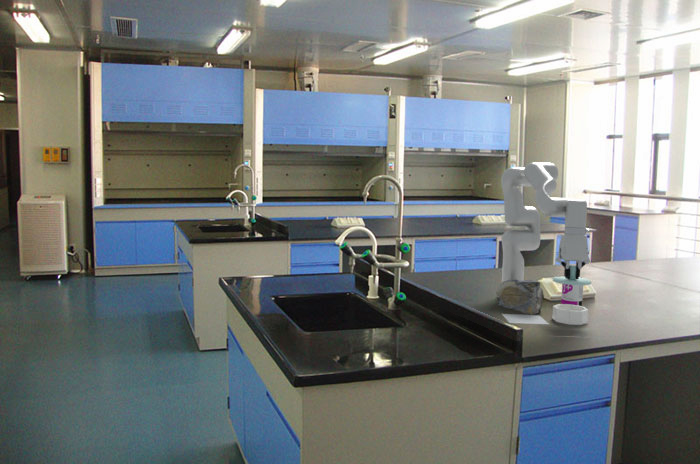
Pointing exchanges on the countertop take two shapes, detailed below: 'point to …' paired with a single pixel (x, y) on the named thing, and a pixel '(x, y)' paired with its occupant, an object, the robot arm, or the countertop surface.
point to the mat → (524, 319)
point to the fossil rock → (521, 296)
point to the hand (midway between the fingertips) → (571, 278)
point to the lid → (572, 278)
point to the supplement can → (572, 294)
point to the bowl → (570, 314)
